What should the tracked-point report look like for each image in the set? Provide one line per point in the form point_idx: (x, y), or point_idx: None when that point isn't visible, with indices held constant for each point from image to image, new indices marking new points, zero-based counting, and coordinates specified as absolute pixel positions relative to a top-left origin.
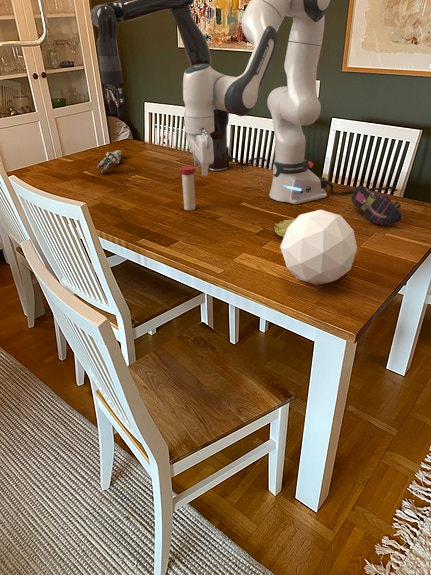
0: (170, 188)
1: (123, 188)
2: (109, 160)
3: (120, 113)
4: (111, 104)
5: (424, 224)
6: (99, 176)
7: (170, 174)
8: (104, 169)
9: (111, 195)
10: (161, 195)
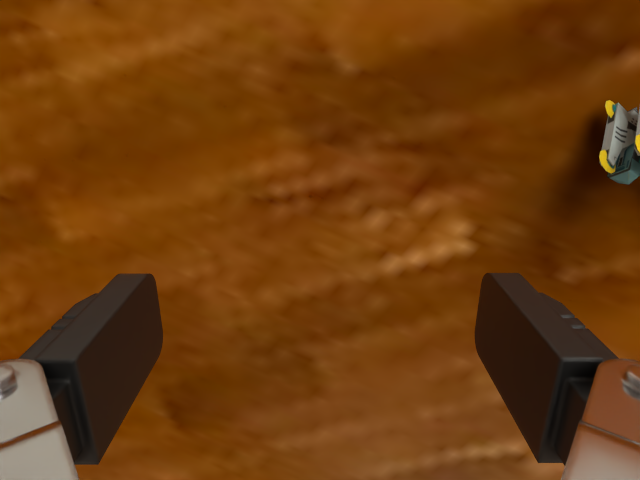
0: (207, 294)
1: (331, 121)
2: (629, 169)
3: (64, 322)
4: (546, 390)
5: None
6: (595, 82)
7: (374, 366)
8: (609, 122)
9: (269, 27)
10: (144, 229)
